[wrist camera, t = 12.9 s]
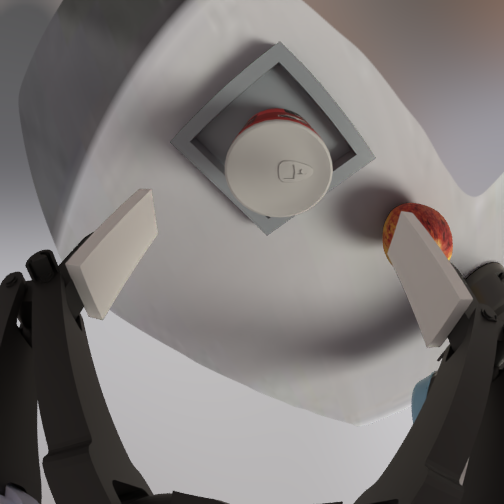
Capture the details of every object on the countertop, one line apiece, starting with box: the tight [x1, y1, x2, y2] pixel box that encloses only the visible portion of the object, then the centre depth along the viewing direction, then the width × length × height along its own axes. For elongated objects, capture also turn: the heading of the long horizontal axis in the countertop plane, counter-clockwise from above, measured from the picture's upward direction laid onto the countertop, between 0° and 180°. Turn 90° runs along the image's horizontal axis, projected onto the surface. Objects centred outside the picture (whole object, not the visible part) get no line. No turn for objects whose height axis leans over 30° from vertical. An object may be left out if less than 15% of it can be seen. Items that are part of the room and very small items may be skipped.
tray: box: [170, 42, 376, 235], centre depth 27 cm, size 16×16×3 cm
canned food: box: [225, 108, 333, 217], centre depth 23 cm, size 8×8×11 cm
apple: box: [383, 203, 453, 266], centre depth 29 cm, size 9×9×10 cm
